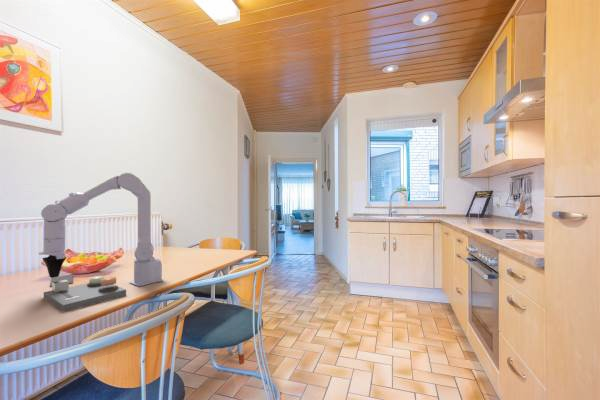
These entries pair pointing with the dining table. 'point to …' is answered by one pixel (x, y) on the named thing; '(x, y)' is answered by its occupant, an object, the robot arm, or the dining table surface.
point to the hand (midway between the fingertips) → (54, 276)
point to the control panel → (83, 295)
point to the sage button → (95, 280)
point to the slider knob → (60, 286)
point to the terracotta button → (108, 281)
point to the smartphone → (67, 277)
